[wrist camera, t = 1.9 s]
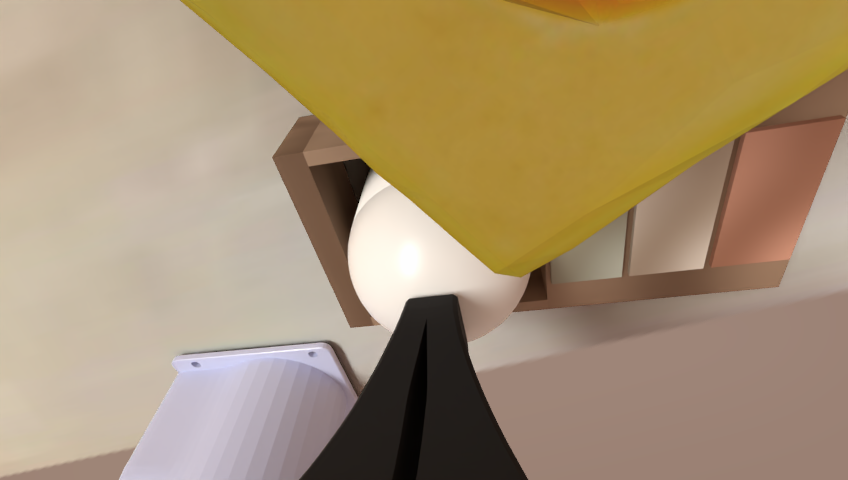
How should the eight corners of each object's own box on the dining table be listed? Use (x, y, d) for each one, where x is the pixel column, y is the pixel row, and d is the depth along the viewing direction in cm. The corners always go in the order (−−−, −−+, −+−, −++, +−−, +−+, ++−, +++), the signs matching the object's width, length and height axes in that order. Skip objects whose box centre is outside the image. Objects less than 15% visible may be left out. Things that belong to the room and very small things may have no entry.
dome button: (385, 269, 19) (364, 391, 15) (343, 145, 16) (295, 254, 11) (525, 252, 18) (550, 378, 14) (514, 116, 15) (542, 223, 10)
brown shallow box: (362, 277, 21) (349, 331, 18) (299, 117, 16) (270, 160, 13) (736, 235, 18) (781, 290, 16) (796, 26, 13) (876, 59, 11)
